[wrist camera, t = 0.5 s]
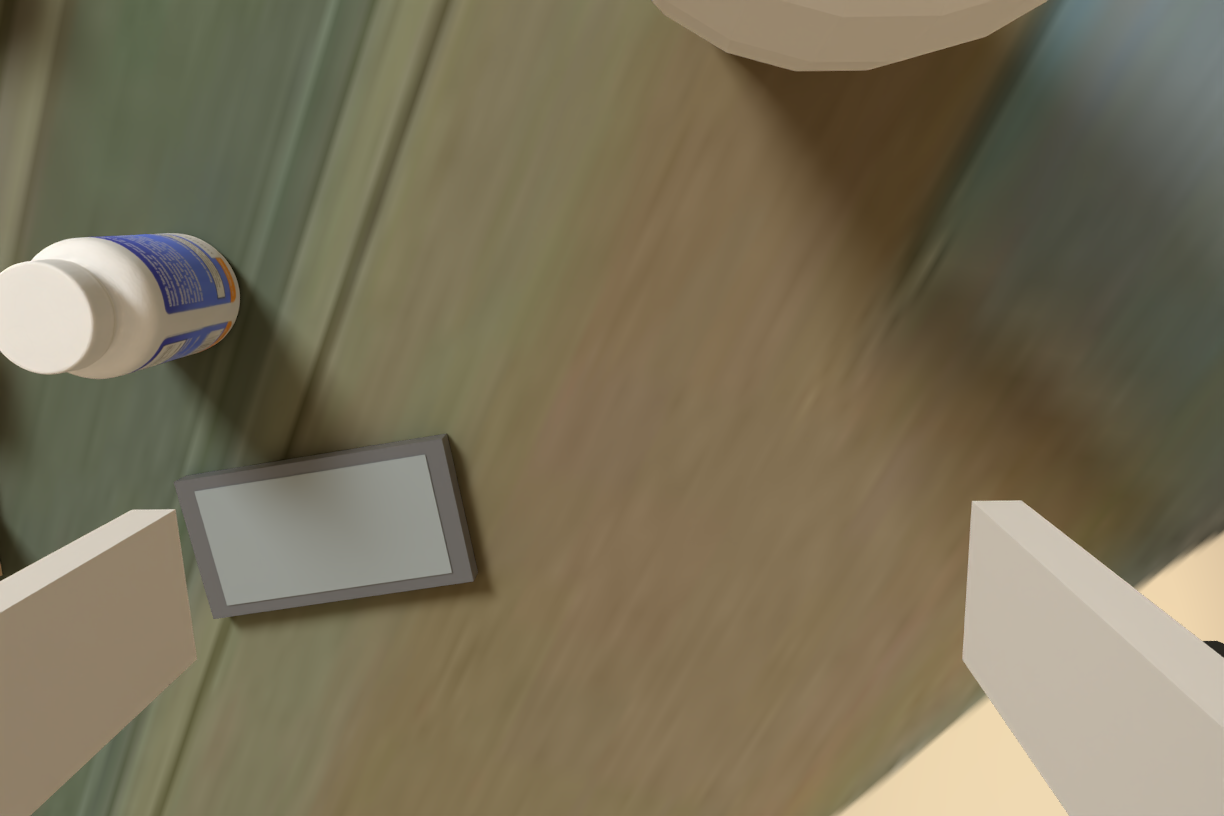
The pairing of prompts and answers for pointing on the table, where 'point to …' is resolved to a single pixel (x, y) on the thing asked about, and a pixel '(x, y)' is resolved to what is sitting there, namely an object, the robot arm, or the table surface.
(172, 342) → the pill bottle
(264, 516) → the phone slab
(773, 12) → the vase
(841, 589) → the table surface
